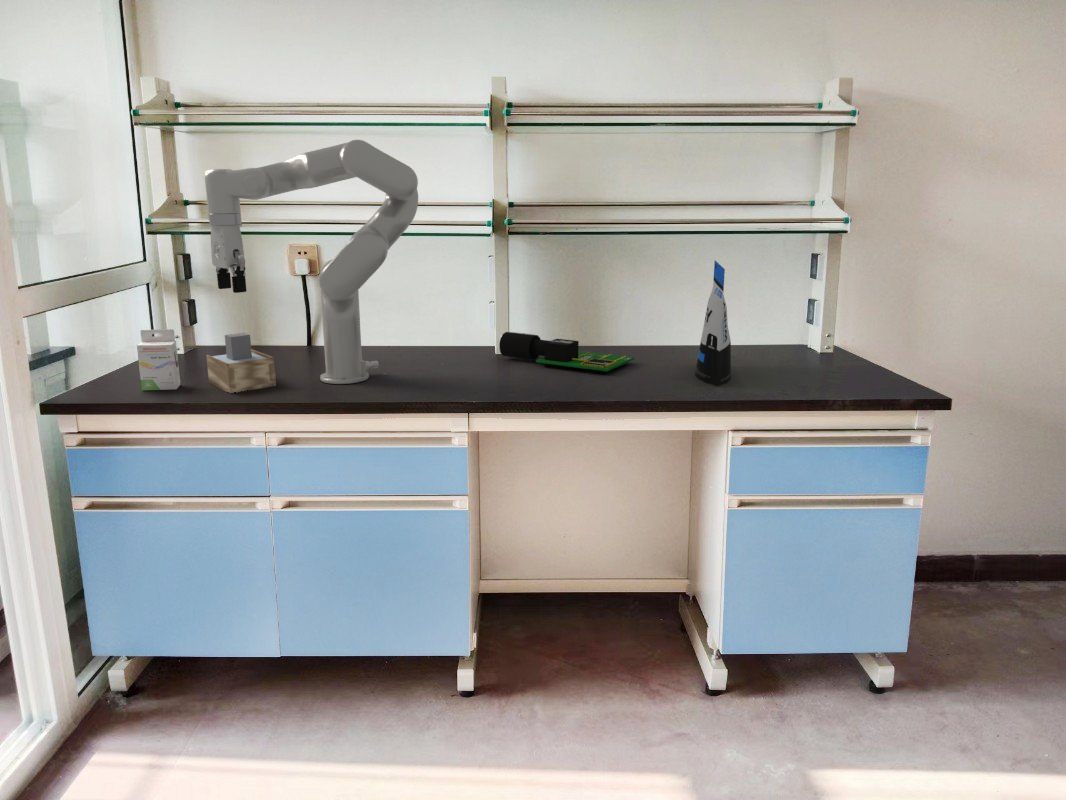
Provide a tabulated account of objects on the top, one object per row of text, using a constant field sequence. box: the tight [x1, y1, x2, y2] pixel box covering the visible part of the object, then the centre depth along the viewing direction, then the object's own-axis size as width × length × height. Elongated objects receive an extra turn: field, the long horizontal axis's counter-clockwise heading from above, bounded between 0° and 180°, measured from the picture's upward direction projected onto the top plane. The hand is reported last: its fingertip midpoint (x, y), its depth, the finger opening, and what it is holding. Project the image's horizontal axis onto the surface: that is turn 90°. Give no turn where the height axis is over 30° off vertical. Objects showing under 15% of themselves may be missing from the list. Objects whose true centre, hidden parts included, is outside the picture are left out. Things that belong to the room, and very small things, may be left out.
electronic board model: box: [498, 331, 635, 372], centre depth 238 cm, size 36×8×18 cm
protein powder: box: [694, 260, 732, 388], centre depth 220 cm, size 10×24×30 cm, turn 174°
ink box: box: [136, 328, 181, 391], centre depth 209 cm, size 9×5×15 cm, turn 101°
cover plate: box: [212, 332, 265, 363], centre depth 212 cm, size 10×13×7 cm
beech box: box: [206, 348, 277, 394], centre depth 213 cm, size 12×14×8 cm
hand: (232, 290), depth 208 cm, fingers open, 9 cm apart
